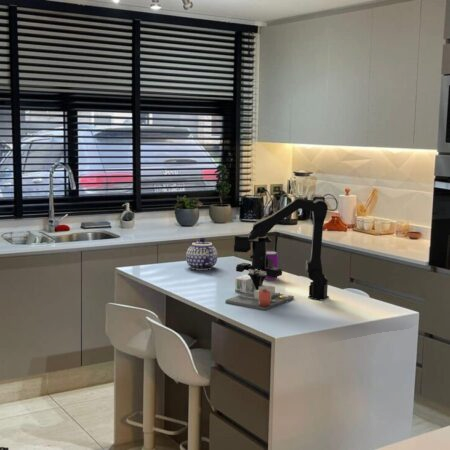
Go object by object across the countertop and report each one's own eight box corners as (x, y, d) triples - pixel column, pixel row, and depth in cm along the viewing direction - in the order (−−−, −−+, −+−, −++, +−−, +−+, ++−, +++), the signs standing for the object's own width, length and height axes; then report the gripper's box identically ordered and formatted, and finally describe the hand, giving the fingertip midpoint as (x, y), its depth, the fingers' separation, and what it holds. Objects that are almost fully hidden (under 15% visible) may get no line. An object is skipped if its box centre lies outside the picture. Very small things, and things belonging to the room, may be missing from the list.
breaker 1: (270, 299, 275) (271, 290, 274) (265, 301, 271) (265, 292, 271) (260, 297, 278) (260, 288, 277) (254, 299, 274) (254, 290, 274)
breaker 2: (274, 295, 282) (275, 286, 281) (269, 297, 278) (269, 288, 278) (264, 293, 285) (264, 284, 284) (258, 295, 281) (258, 286, 281)
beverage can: (265, 275, 322) (265, 250, 321) (280, 278, 319) (281, 252, 317) (257, 278, 316) (258, 252, 314) (272, 281, 312) (273, 254, 310)
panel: (293, 299, 281) (293, 293, 281) (265, 310, 263) (265, 304, 263) (255, 292, 291) (255, 287, 291) (225, 302, 273) (225, 297, 273)
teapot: (225, 272, 328) (225, 241, 326) (194, 274, 323) (194, 243, 321) (208, 262, 351) (208, 232, 349) (179, 263, 346) (179, 234, 344)
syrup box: (251, 271, 303) (234, 277, 291) (263, 273, 300) (246, 279, 288) (251, 284, 304) (233, 291, 292) (263, 286, 301) (246, 293, 289)
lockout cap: (272, 304, 268) (272, 289, 267) (266, 306, 264) (266, 291, 263) (262, 302, 270) (262, 287, 269) (256, 304, 266) (256, 289, 266)
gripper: (289, 252, 283) (288, 290, 285) (250, 247, 293) (249, 283, 295) (275, 256, 274) (274, 295, 276) (235, 251, 284) (234, 288, 286)
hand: (258, 290), depth 284 cm, fingers closed
